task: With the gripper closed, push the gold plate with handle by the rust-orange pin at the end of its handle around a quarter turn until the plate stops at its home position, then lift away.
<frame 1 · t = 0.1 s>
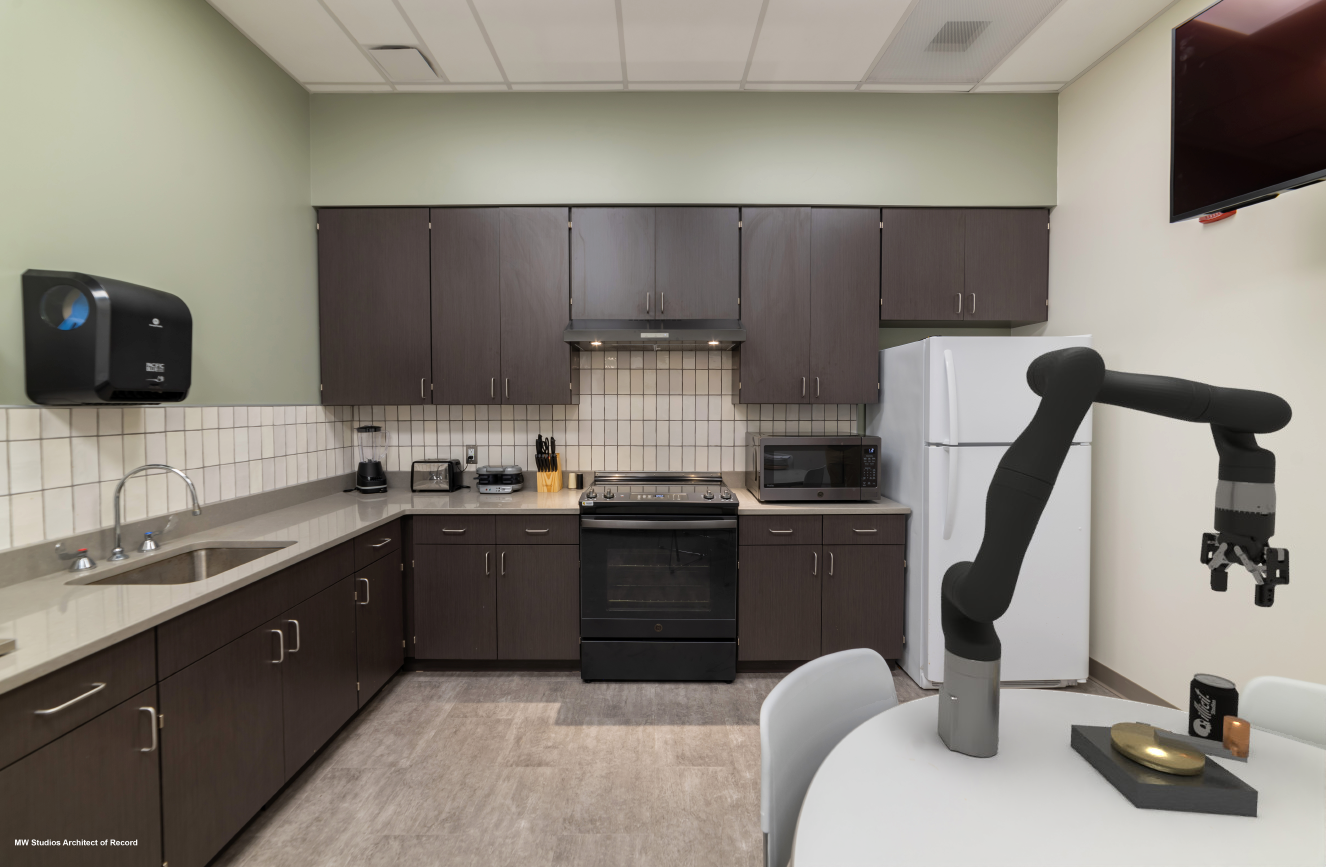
hand: (1240, 598, 101), 29 cm above the table, tool pointing down, fingers open, 8 cm apart
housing: (1154, 777, 97), on the table
beverage can: (1211, 743, 108), on the table
gold plate with handle: (1176, 732, 96), point 8 cm above the table, hinge at 0.0°
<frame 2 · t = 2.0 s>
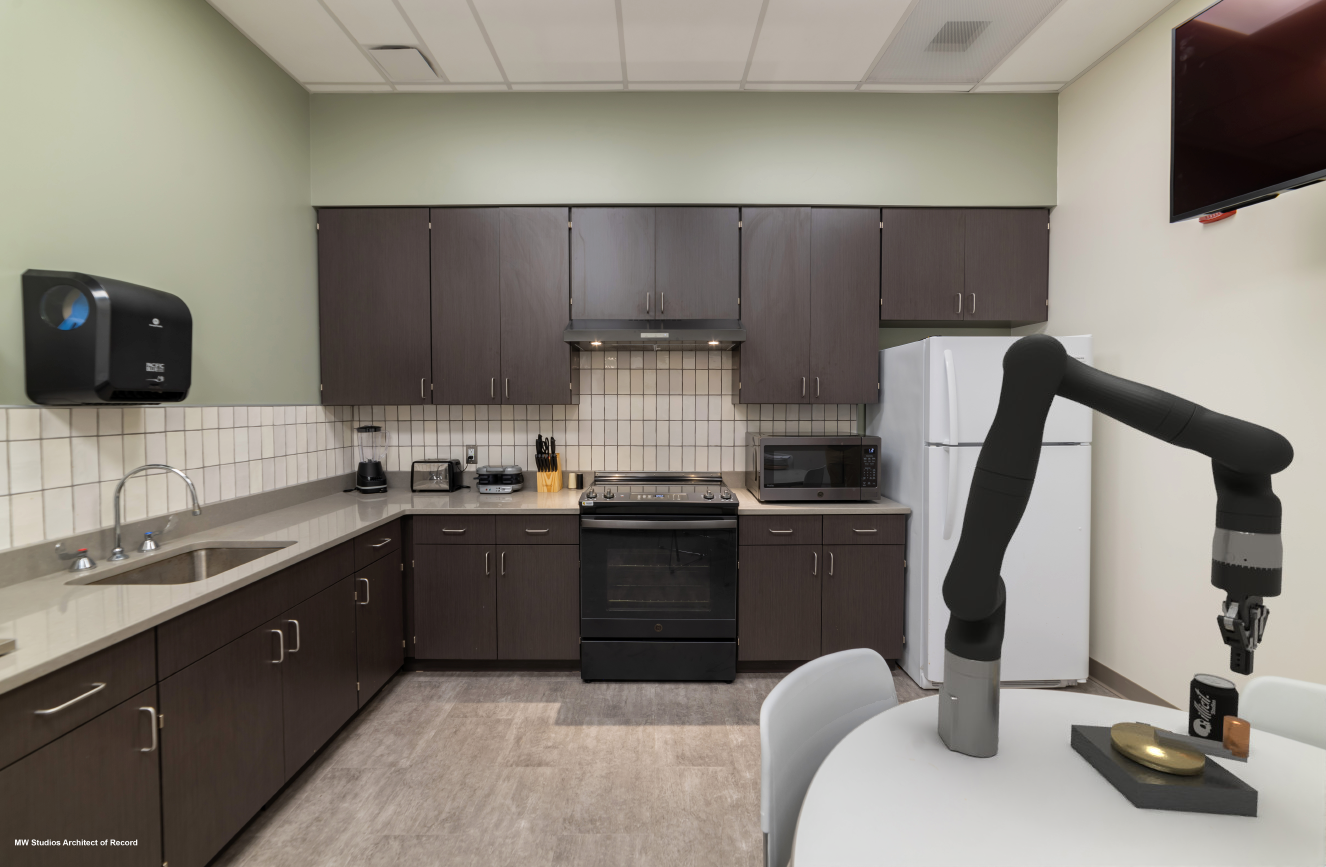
hand: (1241, 672, 88), 22 cm above the table, tool pointing down, fingers closed
nothing on the table moved.
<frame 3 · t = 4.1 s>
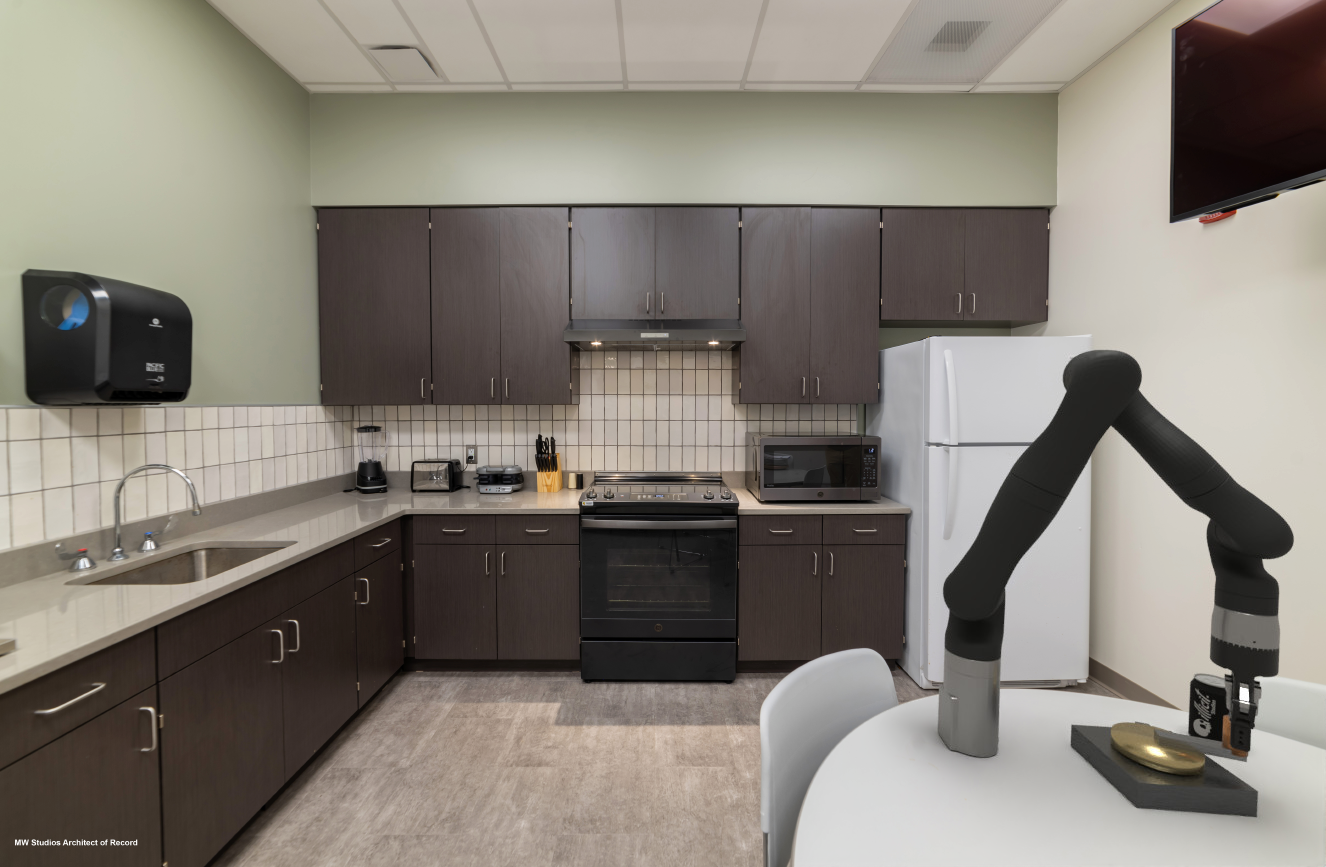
hand: (1239, 747, 90), 9 cm above the table, tool pointing down, fingers closed
gold plate with handle: (1176, 732, 96), point 8 cm above the table, hinge at 1.1°, touching gripper
everything else where it was.
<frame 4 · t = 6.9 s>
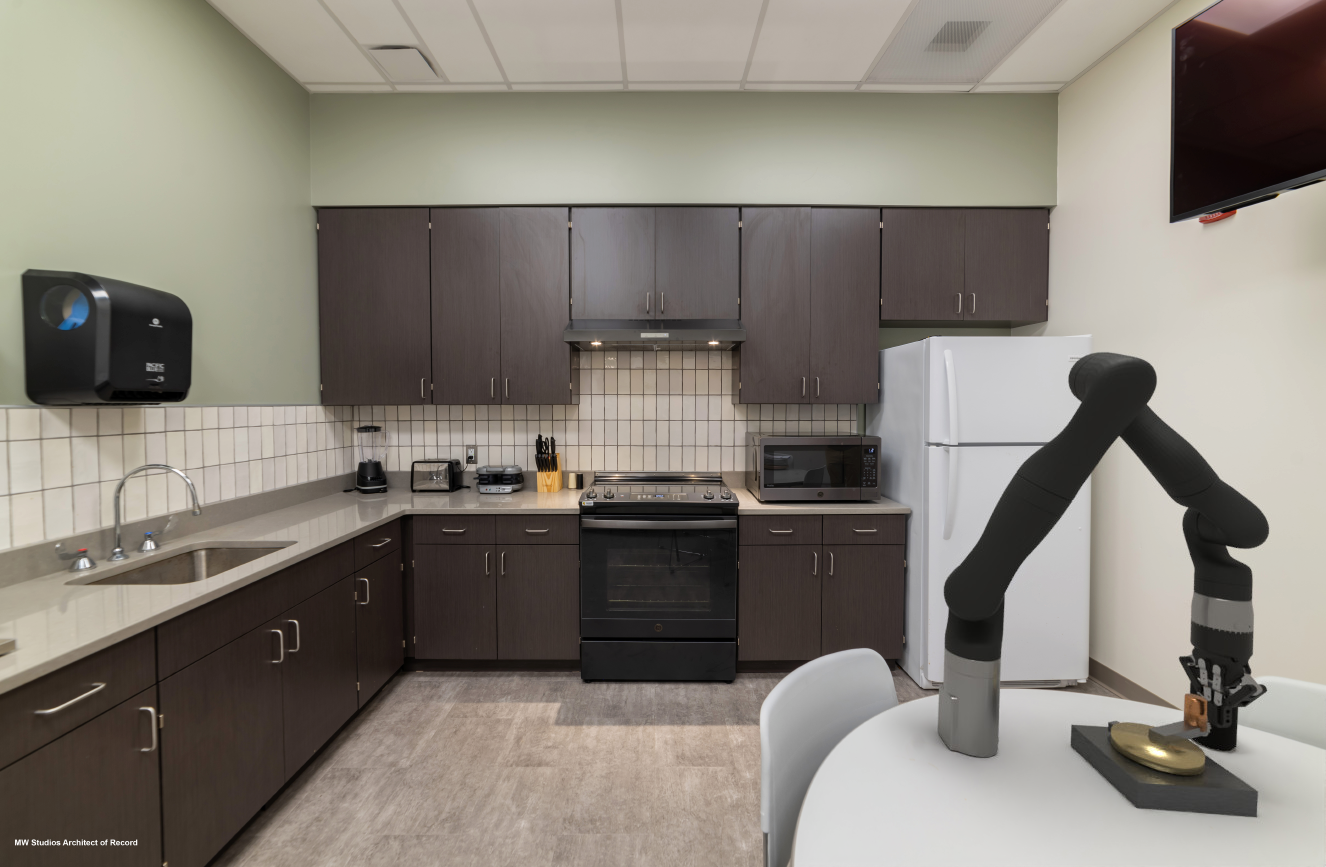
hand: (1218, 725, 96), 9 cm above the table, tool pointing down, fingers closed
gold plate with handle: (1164, 725, 98), point 8 cm above the table, hinge at 44.4°, touching gripper
everything else where it was.
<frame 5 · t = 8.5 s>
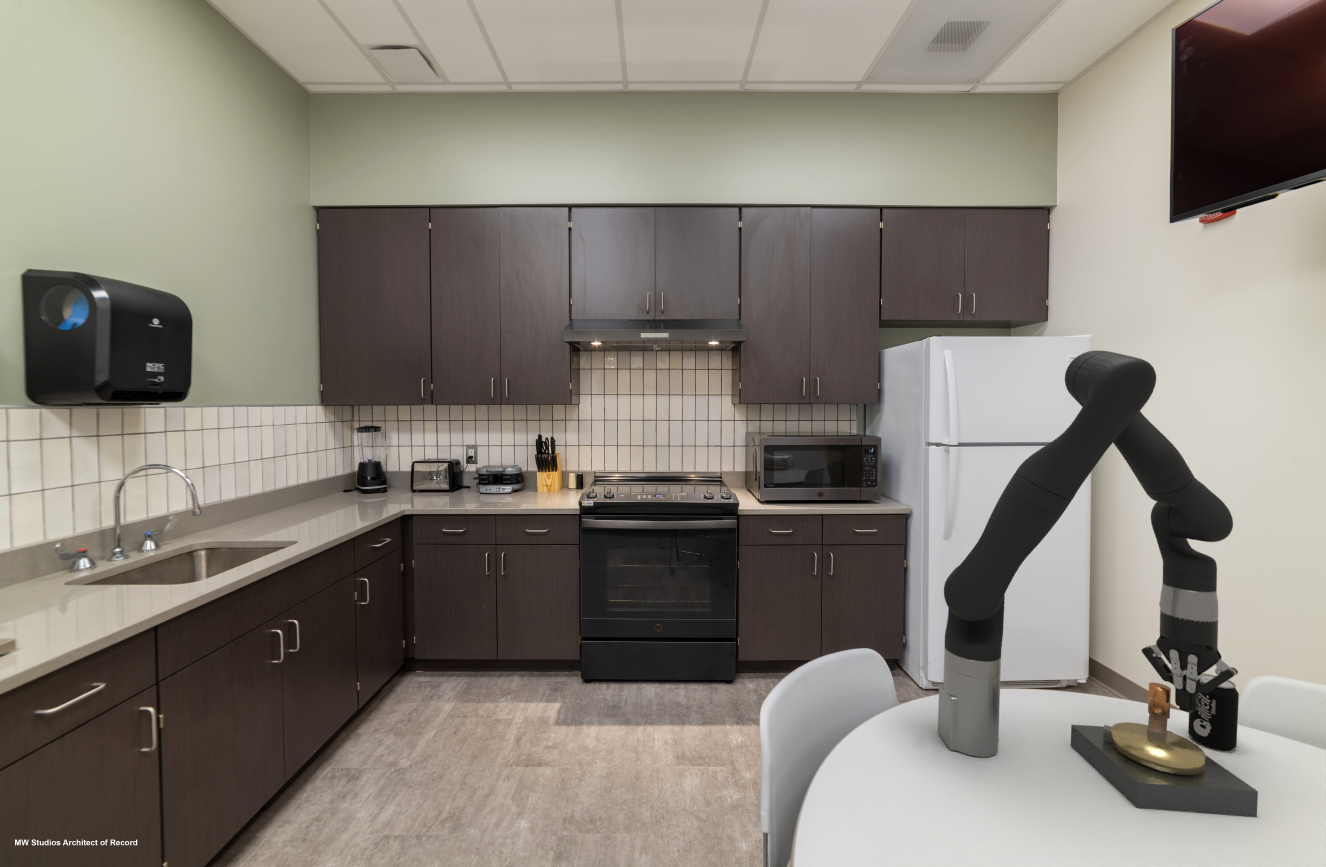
hand: (1186, 710, 101), 9 cm above the table, tool pointing down, fingers closed
gold plate with handle: (1153, 722, 99), point 8 cm above the table, hinge at 73.3°, touching gripper
everything else where it was.
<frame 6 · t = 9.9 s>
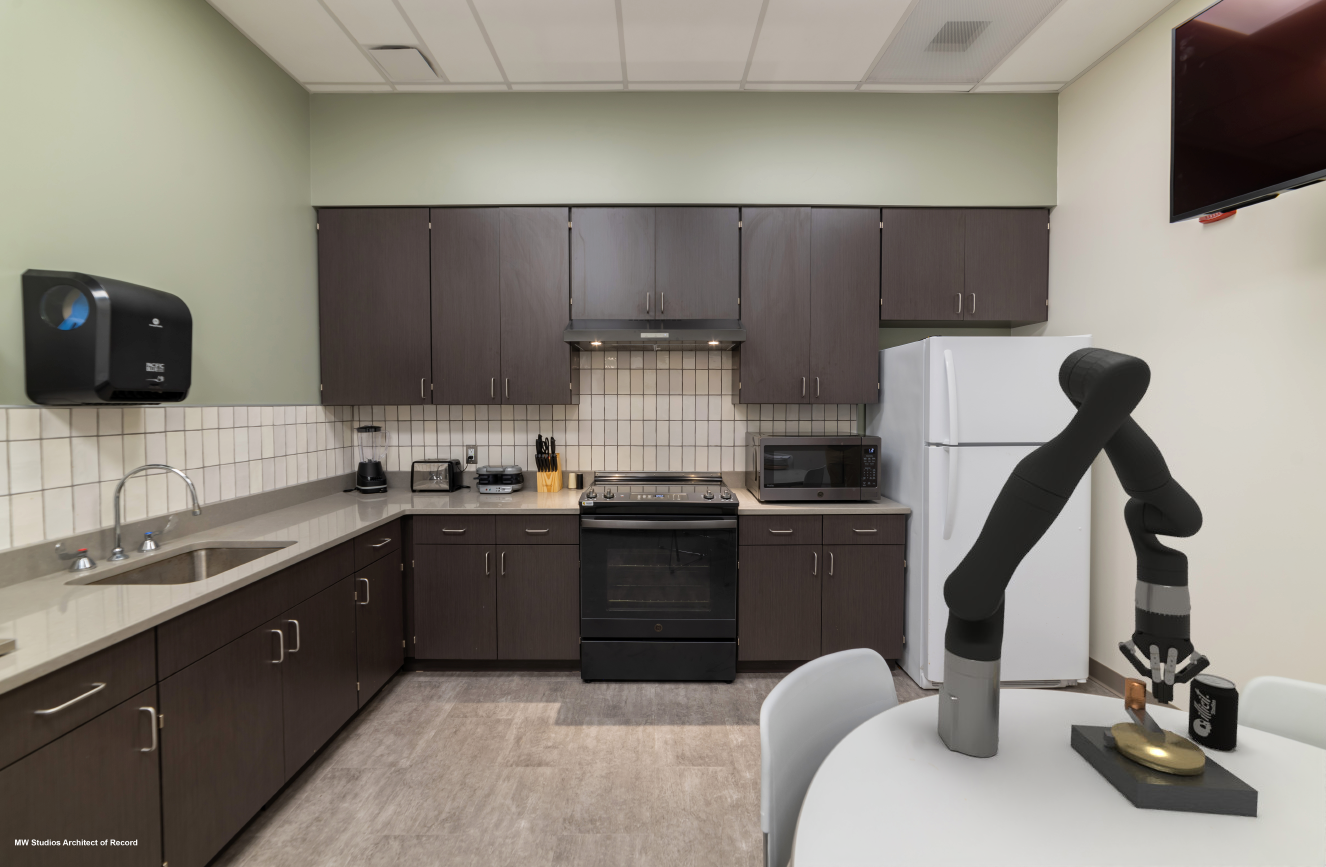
hand: (1162, 701, 104), 10 cm above the table, tool pointing down, fingers closed
gold plate with handle: (1146, 721, 99), point 8 cm above the table, hinge at 92.6°, touching gripper
everything else where it was.
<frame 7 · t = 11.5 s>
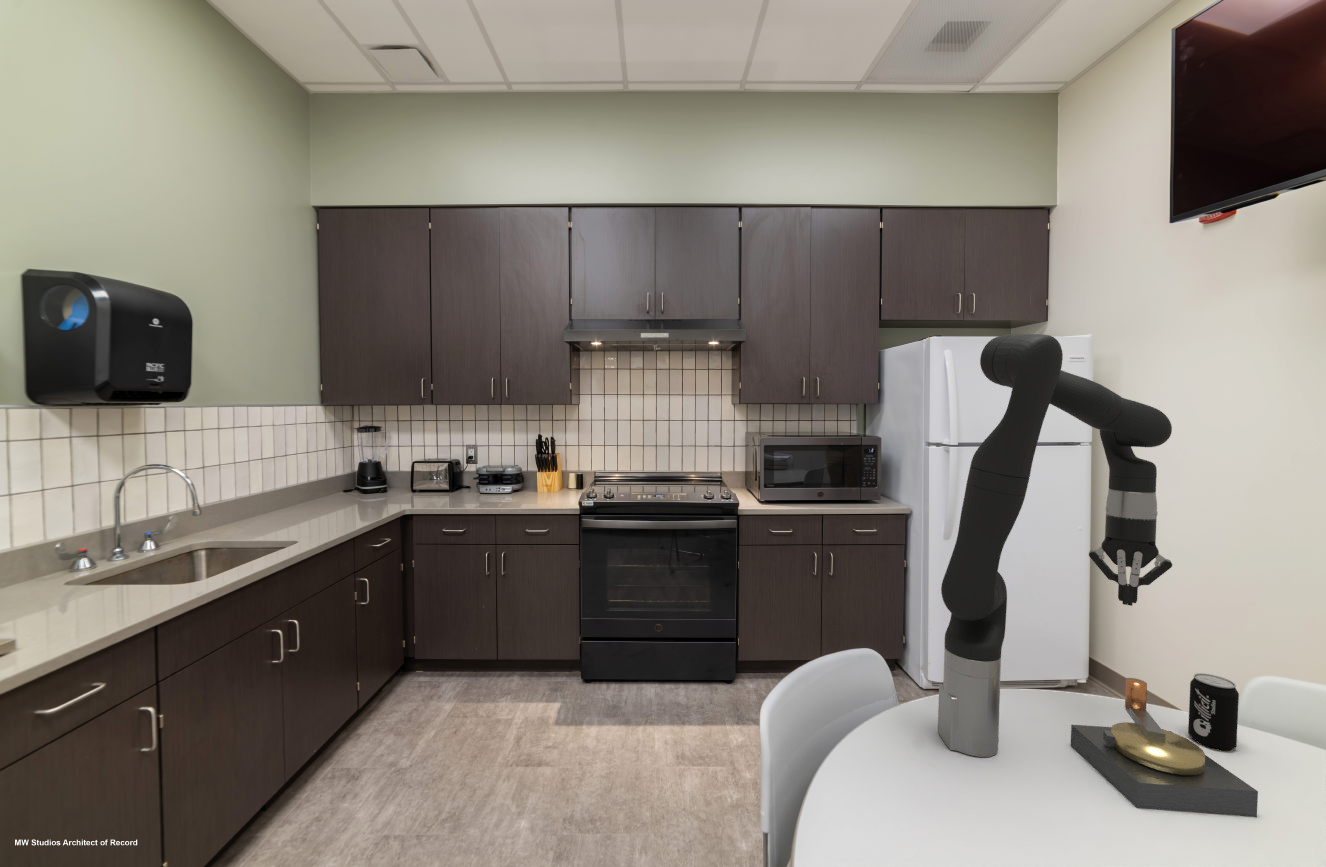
hand: (1127, 603, 110), 25 cm above the table, tool pointing down, fingers closed
gold plate with handle: (1146, 721, 99), point 8 cm above the table, hinge at 92.1°
everything else where it was.
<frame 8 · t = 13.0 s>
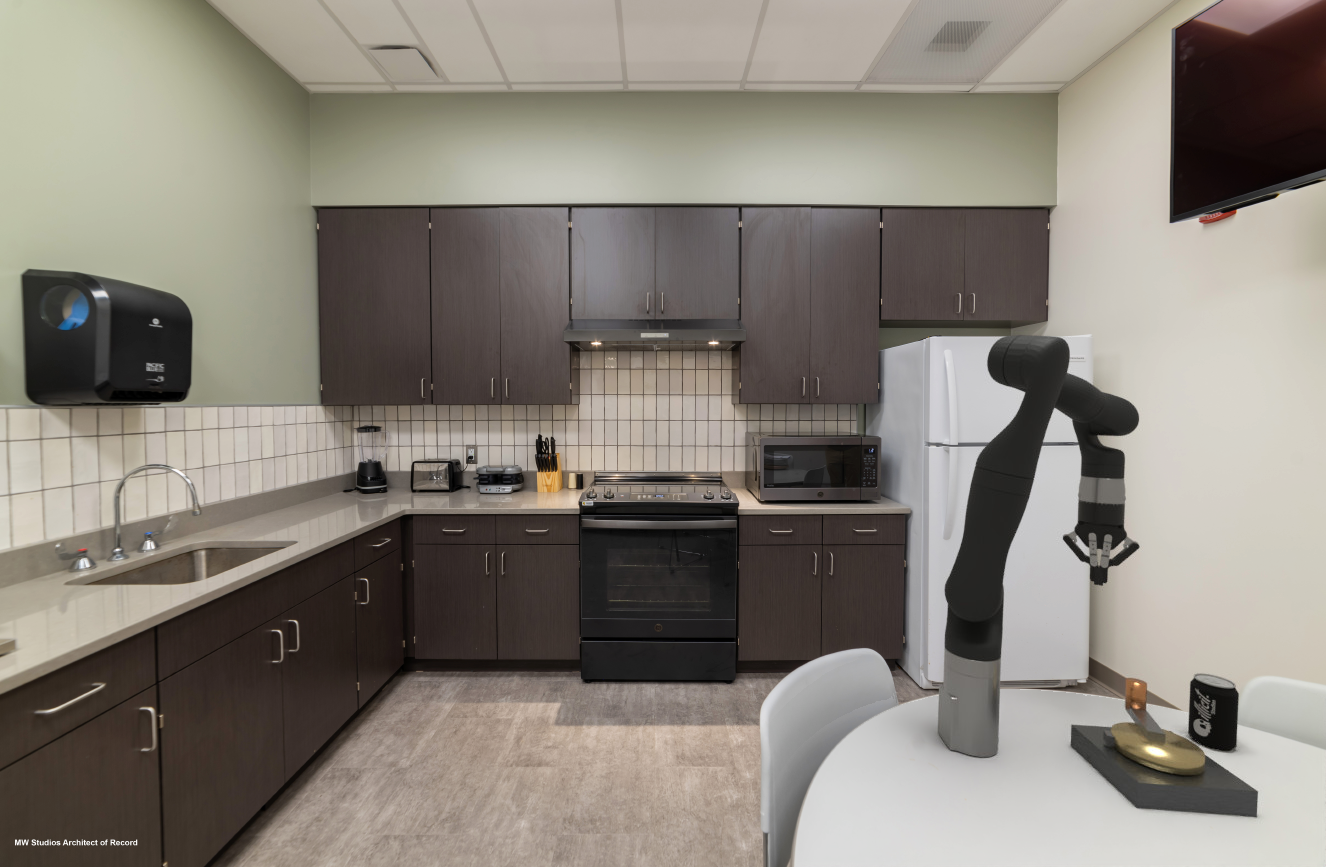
hand: (1098, 584, 117), 27 cm above the table, tool pointing down, fingers closed
nothing on the table moved.
at the end: gold plate with handle at +92° (first picture: +0°) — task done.
